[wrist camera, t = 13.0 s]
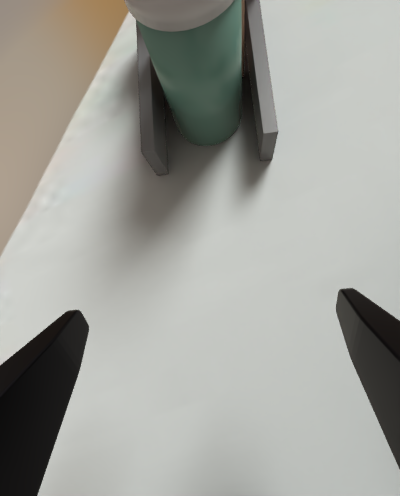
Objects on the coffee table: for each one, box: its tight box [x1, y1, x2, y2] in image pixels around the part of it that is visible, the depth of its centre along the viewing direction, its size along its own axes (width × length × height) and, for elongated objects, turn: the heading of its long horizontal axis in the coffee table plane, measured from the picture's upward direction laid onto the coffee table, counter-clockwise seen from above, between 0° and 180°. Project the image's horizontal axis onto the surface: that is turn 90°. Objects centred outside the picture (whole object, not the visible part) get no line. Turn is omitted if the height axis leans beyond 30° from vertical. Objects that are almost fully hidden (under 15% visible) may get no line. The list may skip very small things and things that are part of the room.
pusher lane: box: [136, 0, 278, 175], centre depth 22 cm, size 15×10×7 cm, turn 4°
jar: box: [124, 0, 242, 146], centre depth 19 cm, size 6×6×12 cm
